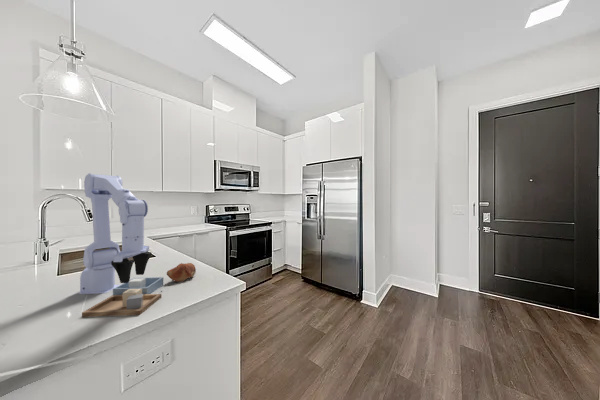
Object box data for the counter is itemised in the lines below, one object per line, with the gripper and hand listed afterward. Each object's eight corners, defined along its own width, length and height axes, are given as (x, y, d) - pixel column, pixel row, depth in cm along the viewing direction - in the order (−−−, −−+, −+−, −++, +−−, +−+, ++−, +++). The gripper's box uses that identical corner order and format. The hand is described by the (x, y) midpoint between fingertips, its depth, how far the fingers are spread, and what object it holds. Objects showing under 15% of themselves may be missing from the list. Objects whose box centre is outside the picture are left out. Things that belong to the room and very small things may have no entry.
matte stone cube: (126, 312, 67) (126, 299, 67) (129, 308, 70) (129, 295, 70) (141, 310, 69) (141, 297, 69) (143, 306, 72) (143, 293, 72)
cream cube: (122, 307, 71) (122, 292, 71) (129, 302, 74) (129, 288, 74) (135, 306, 71) (135, 292, 71) (141, 302, 75) (142, 288, 75)
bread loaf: (167, 278, 88) (173, 254, 94) (158, 283, 93) (165, 260, 99) (198, 283, 96) (202, 260, 102) (189, 287, 101) (193, 265, 107)
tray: (81, 318, 65) (81, 312, 65) (112, 300, 77) (112, 295, 77) (139, 316, 66) (140, 310, 66) (161, 298, 78) (161, 293, 78)
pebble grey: (128, 294, 81) (128, 281, 81) (134, 290, 84) (134, 278, 84) (140, 293, 81) (140, 281, 81) (145, 290, 84) (145, 278, 84)
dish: (112, 298, 78) (112, 288, 78) (133, 286, 89) (134, 277, 89) (146, 298, 79) (146, 288, 79) (163, 285, 90) (163, 277, 90)
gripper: (131, 240, 66) (131, 286, 66) (158, 233, 81) (157, 271, 81) (105, 240, 65) (105, 287, 65) (137, 233, 80) (137, 271, 80)
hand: (132, 278), depth 73 cm, fingers open, 7 cm apart
